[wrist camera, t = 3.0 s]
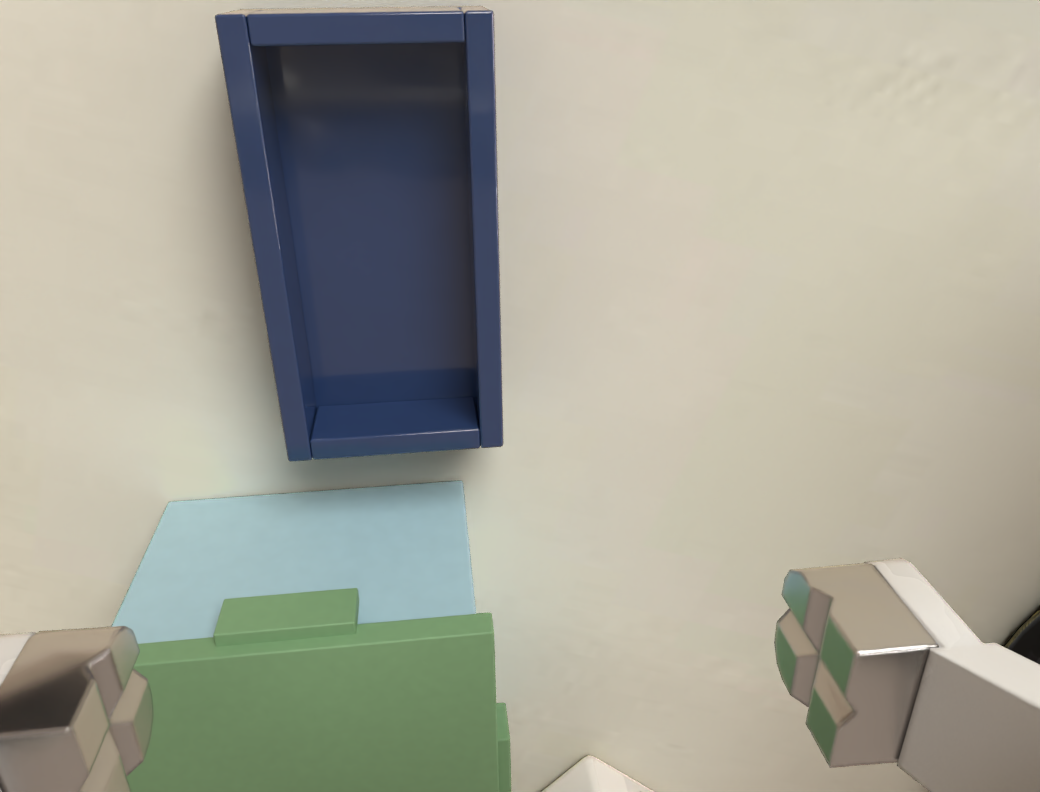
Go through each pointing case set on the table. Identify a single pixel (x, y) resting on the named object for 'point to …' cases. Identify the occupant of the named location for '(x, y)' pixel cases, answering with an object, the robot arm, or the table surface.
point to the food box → (317, 646)
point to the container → (595, 779)
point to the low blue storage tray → (373, 221)
